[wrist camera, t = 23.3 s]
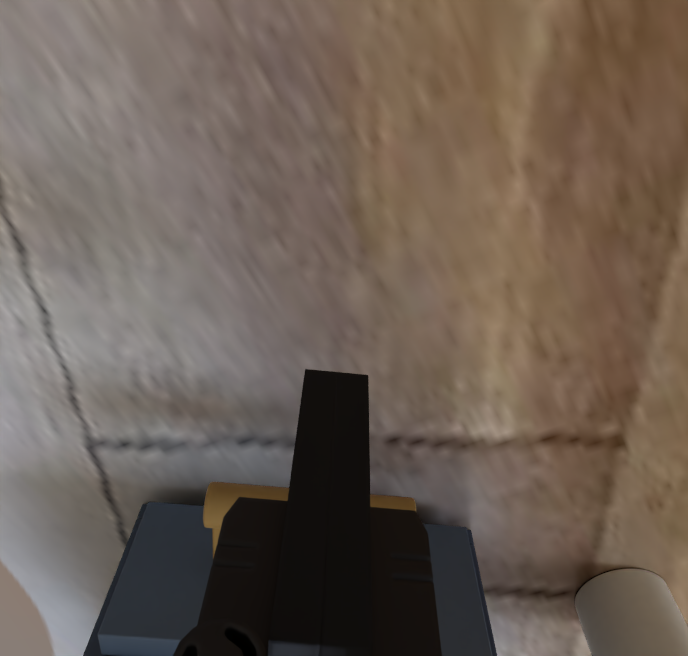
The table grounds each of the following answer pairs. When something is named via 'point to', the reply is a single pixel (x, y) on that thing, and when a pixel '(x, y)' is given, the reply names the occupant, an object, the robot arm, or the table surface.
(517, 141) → the table surface
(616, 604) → the candle
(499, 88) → the table surface
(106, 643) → the drawer
